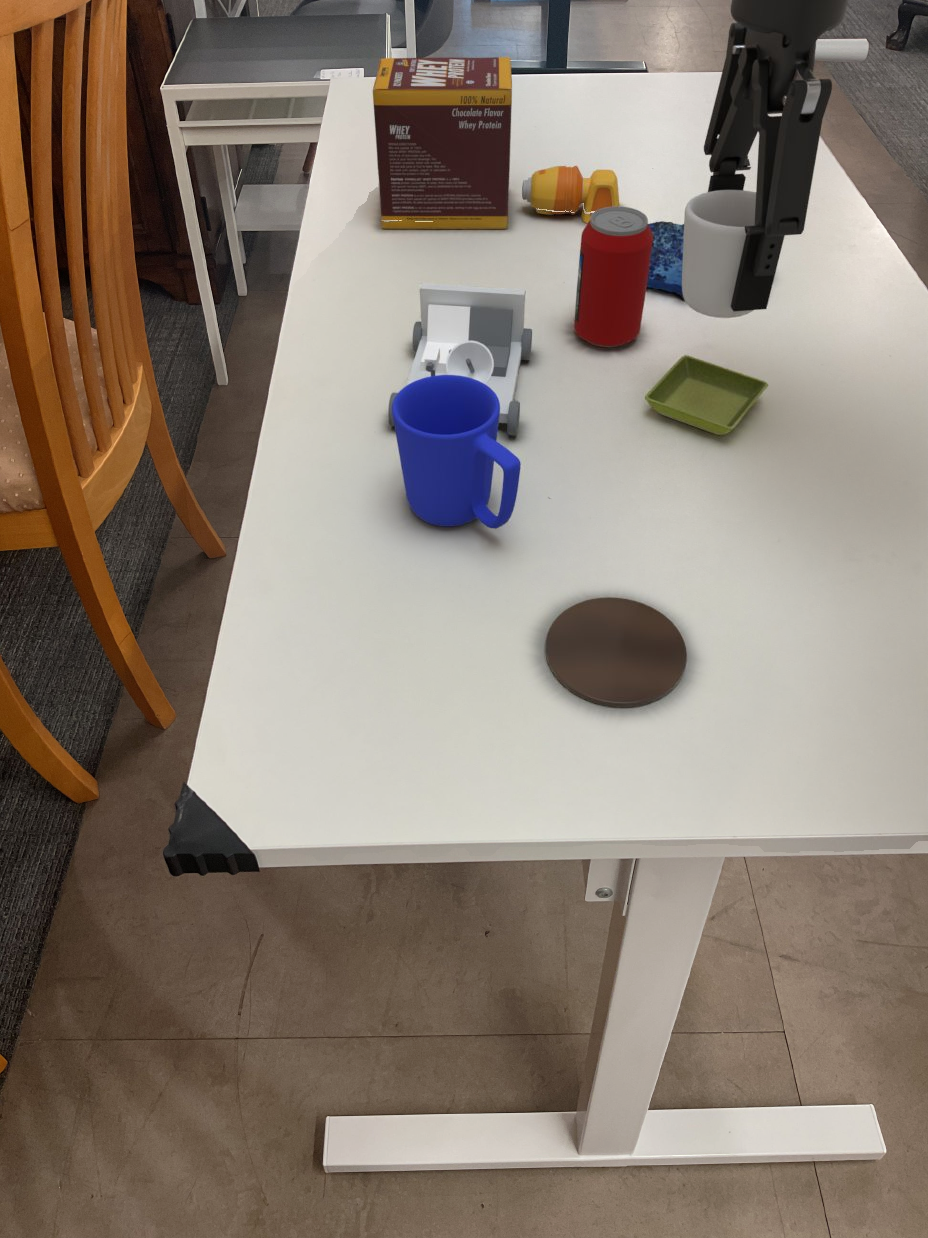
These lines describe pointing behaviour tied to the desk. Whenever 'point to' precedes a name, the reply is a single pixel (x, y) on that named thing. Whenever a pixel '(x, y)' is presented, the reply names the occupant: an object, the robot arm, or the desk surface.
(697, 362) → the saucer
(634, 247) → the beverage can
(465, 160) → the supplement box
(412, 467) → the mug
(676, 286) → the rock
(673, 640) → the coaster
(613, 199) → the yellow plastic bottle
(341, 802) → the desk surface
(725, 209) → the cup
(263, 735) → the desk surface
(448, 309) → the toy car
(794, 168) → the robot arm
